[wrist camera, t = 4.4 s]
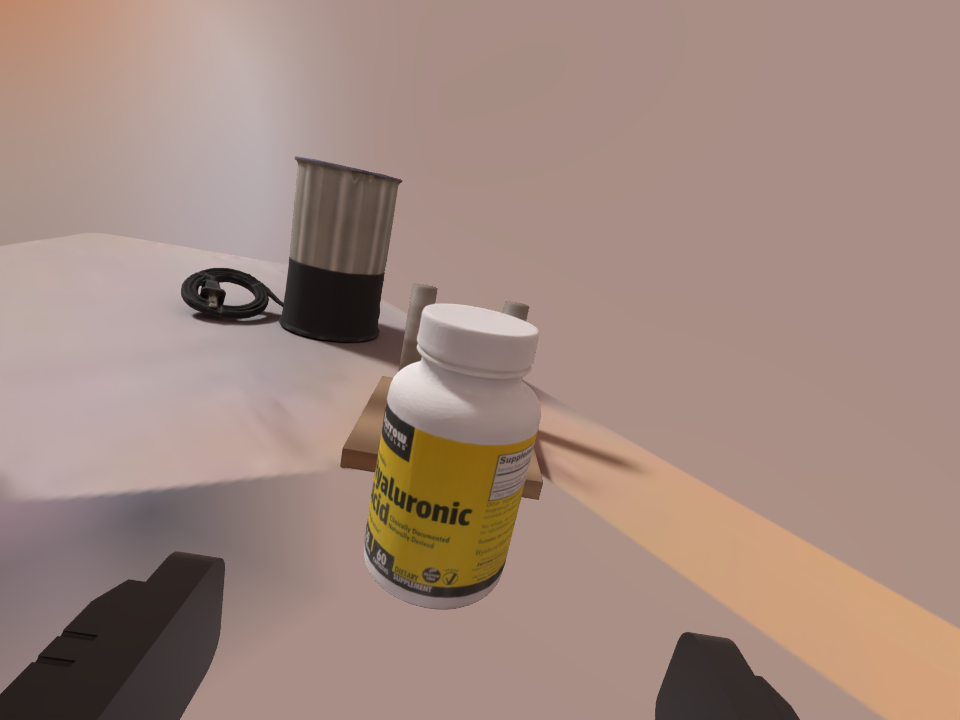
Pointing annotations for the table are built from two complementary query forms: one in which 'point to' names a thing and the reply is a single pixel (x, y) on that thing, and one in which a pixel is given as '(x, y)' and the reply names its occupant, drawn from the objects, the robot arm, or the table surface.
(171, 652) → the robot arm
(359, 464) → the pin tray
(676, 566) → the table surface
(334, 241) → the milk frother
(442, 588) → the supplement bottle
